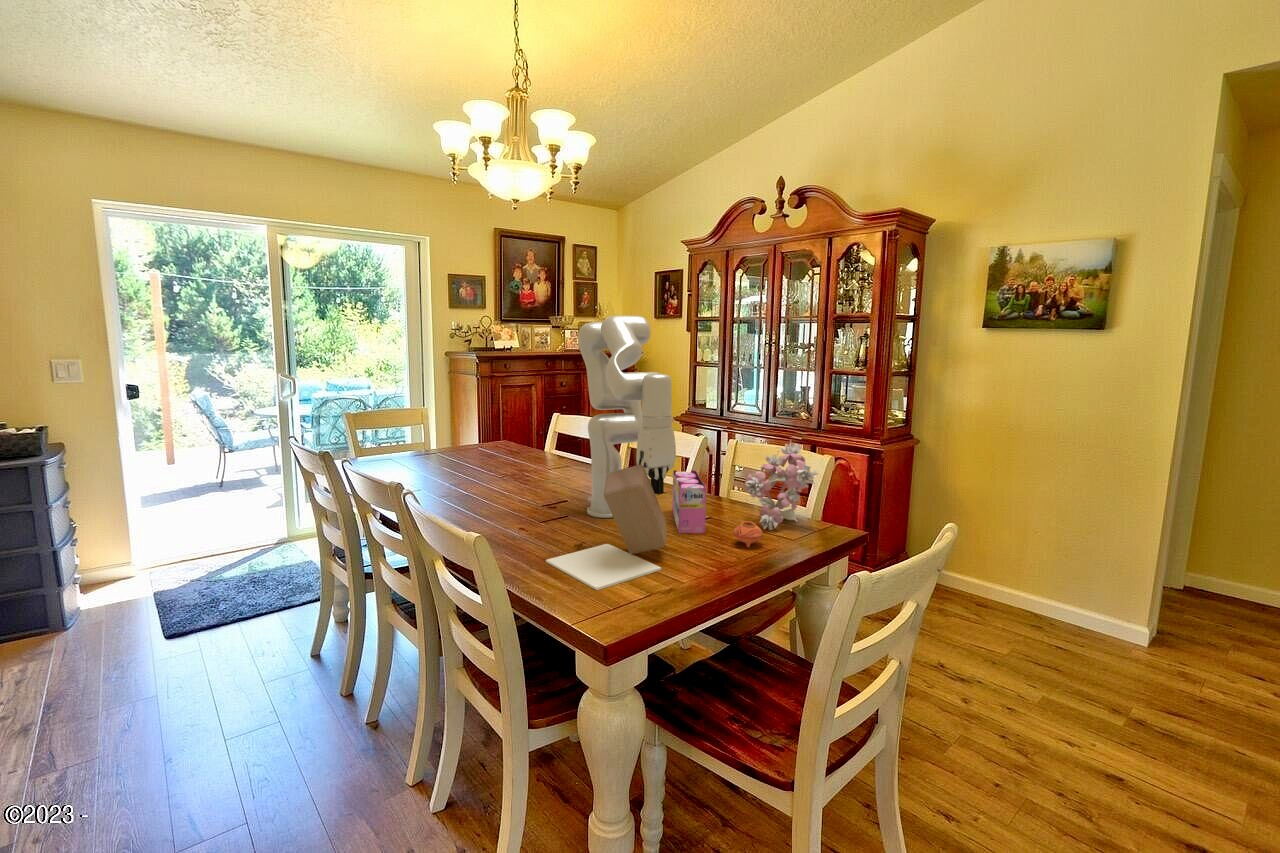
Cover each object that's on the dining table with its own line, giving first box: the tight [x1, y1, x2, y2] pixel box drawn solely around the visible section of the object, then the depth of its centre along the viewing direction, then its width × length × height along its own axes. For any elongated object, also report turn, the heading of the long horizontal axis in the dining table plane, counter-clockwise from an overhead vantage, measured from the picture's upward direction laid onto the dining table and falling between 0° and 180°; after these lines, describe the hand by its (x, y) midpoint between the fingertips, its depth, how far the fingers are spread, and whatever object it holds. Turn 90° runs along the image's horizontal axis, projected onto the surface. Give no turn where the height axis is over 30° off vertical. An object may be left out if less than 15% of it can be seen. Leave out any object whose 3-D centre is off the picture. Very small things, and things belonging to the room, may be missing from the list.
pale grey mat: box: [545, 543, 662, 591], centre depth 150 cm, size 22×19×1 cm
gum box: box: [672, 469, 707, 534], centre depth 185 cm, size 24×8×14 cm, turn 2°
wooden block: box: [604, 464, 667, 555], centre depth 154 cm, size 10×10×20 cm
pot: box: [732, 520, 764, 549], centre depth 165 cm, size 8×8×7 cm
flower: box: [744, 439, 819, 531], centre depth 183 cm, size 20×22×25 cm
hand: (657, 493), depth 158 cm, fingers closed
